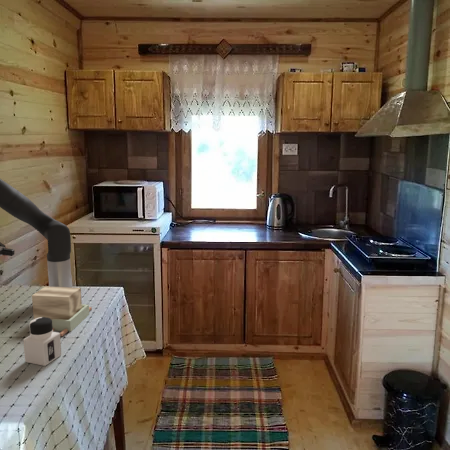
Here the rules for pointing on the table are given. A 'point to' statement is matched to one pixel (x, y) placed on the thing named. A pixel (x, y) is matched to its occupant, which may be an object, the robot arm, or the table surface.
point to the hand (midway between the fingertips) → (13, 252)
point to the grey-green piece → (70, 321)
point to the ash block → (57, 302)
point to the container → (42, 342)
